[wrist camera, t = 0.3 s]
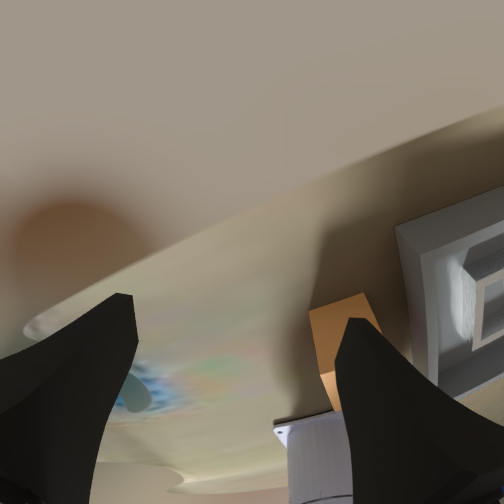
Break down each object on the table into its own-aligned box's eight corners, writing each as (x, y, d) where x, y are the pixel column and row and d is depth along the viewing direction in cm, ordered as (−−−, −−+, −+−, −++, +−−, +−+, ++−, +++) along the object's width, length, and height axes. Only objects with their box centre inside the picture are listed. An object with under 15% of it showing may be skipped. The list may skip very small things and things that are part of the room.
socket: (521, 304, 20) (533, 317, 19) (461, 336, 22) (471, 351, 20) (527, 236, 18) (542, 247, 16) (462, 267, 19) (476, 281, 17)
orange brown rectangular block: (372, 332, 23) (395, 392, 17) (322, 349, 23) (334, 412, 18) (363, 292, 21) (390, 351, 16) (308, 311, 22) (319, 375, 16)
